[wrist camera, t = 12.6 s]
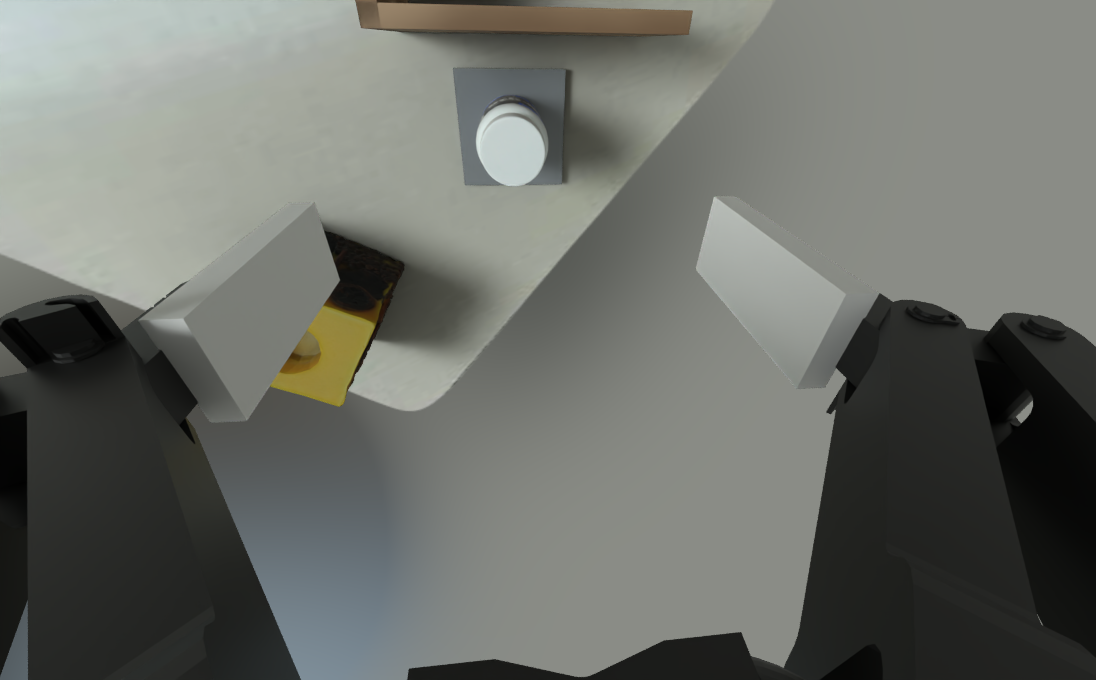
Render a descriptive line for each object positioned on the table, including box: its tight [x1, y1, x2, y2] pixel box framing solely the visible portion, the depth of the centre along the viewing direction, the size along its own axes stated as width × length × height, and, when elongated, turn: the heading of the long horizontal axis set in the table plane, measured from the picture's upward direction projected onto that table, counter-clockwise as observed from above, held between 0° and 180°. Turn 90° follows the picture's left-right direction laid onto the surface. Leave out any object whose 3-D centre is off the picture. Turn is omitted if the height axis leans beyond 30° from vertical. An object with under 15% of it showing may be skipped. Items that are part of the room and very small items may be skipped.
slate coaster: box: [453, 68, 566, 185], centre depth 31 cm, size 8×8×1 cm
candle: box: [270, 231, 405, 407], centre depth 34 cm, size 10×10×10 cm
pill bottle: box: [476, 94, 549, 186], centre depth 28 cm, size 5×5×8 cm
